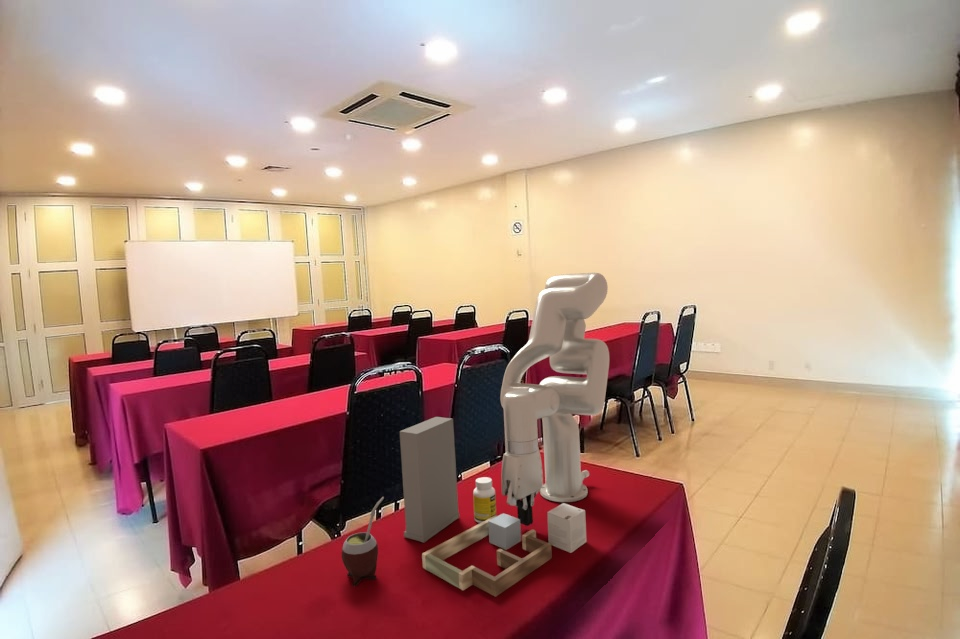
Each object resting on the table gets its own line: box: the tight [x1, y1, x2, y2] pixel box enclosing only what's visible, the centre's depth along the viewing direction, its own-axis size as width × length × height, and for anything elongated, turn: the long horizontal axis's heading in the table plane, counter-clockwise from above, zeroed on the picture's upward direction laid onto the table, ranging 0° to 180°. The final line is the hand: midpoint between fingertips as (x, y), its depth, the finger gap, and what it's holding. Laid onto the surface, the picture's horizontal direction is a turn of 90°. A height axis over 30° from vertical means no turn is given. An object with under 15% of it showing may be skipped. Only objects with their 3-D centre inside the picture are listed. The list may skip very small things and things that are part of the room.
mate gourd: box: [341, 496, 385, 587], centre depth 102 cm, size 8×8×15 cm
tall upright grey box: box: [399, 416, 460, 544], centre depth 120 cm, size 14×6×25 cm, turn 147°
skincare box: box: [546, 502, 587, 554], centre depth 110 cm, size 6×6×7 cm
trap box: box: [421, 514, 553, 597], centre depth 105 cm, size 22×18×3 cm
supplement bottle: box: [472, 476, 497, 524], centre depth 124 cm, size 5×5×10 cm
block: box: [488, 512, 522, 551], centre depth 112 cm, size 5×5×5 cm
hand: (525, 522), depth 117 cm, fingers closed
